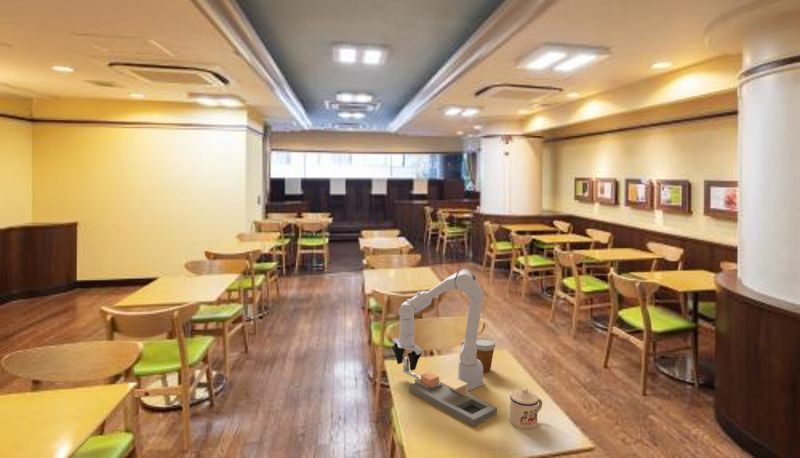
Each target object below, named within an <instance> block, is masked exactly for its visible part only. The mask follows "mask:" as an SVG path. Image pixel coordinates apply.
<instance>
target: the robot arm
mask: <svg viewBox="0 0 800 458" xmlns="http://www.w3.org/2000/svg"><path fill="white" fill-rule="evenodd" d="M457 289H458V290H459V291H461V292H463V293H465V294H466V295H467V296H468V297H469V298H470V299H469V300H470V302H469V308H468V314H467V321H466V326H465V327H466V328H465V333H464V335H465V336H464V339H463V340H464V341H463V343H462V344H461V345H460V354H459V359H458V373H457V375H458V377H457V379H459V380H461V381H463V382H466V383H468V391H471V390H473V389H476V388H478V387H480V386H483V385H485V382H484V380H483V379H484V373H483V365H482V363H481V361H480V360H478V359H477V356H476V355H477V347H476V340H477V338H478V334H479V326H480V318H481V312H482V306H483V300H484V292H483V289H482V287H481V285H480V284H479V281H478V279H477V276H476V275H475V274H474V273H473V272H472V271H471V270H470V269H468V268H463V269H460V270H459V271H458V272H455V273H453V274H451V275H450V276H448V277H446V278H445V279H444V280H442V281H441V282H440V283H438V284H437V285H435V286H434V287H432V288H431V289H429V290H428V291H426V290H422V291H419V290H418V291H417V292H416V294H415V295H414V296H413V297H412V298H407V299H406V301H404V302H402V303H401V305H400V307H399V309H398V316H399V329H398V330H399V333H398V334H399V337H398V338H396V337H395V338H393V339H392V346H391V349H392V351H393V353H394V355H395V360H396V363H397V364H398V365H401V364H403V357H404V352H405V350H408V351H410V352H409V353H407V357H409V371H411V372H413V371H414V370H416V368H417V364H418V362H419V359H420V358H421V356H422V355H423V354H422V348H420V347H419V346H418V345H417V344H415V313H419V312H421V311H422V310H424V309H425V308H427V307H428V306H429V305H431V304H432V301H433V299H435V298H436V297H438V296H440V295H441V294H443V293H444V292H446V291H448V290H452V291H457Z"/></svg>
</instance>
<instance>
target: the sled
mask: <svg viewBox="0 0 800 458" xmlns="http://www.w3.org/2000/svg"><path fill="white" fill-rule="evenodd" d="M402 372H403V373H404V374H406V375H408V376H410V377H412V378H414V383H417V384H419V385H421V386H423V387H425V388H427V389H429V390H432V389H435V388H437V387H439V386H442V384H440V383H436V384H434V385H431V386H428V385H426V384H424V383H422V382H421V375H419V374H417V373H415V372H413V371H411V370H410V361H409V357H408V356H403V362H402Z"/></svg>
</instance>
